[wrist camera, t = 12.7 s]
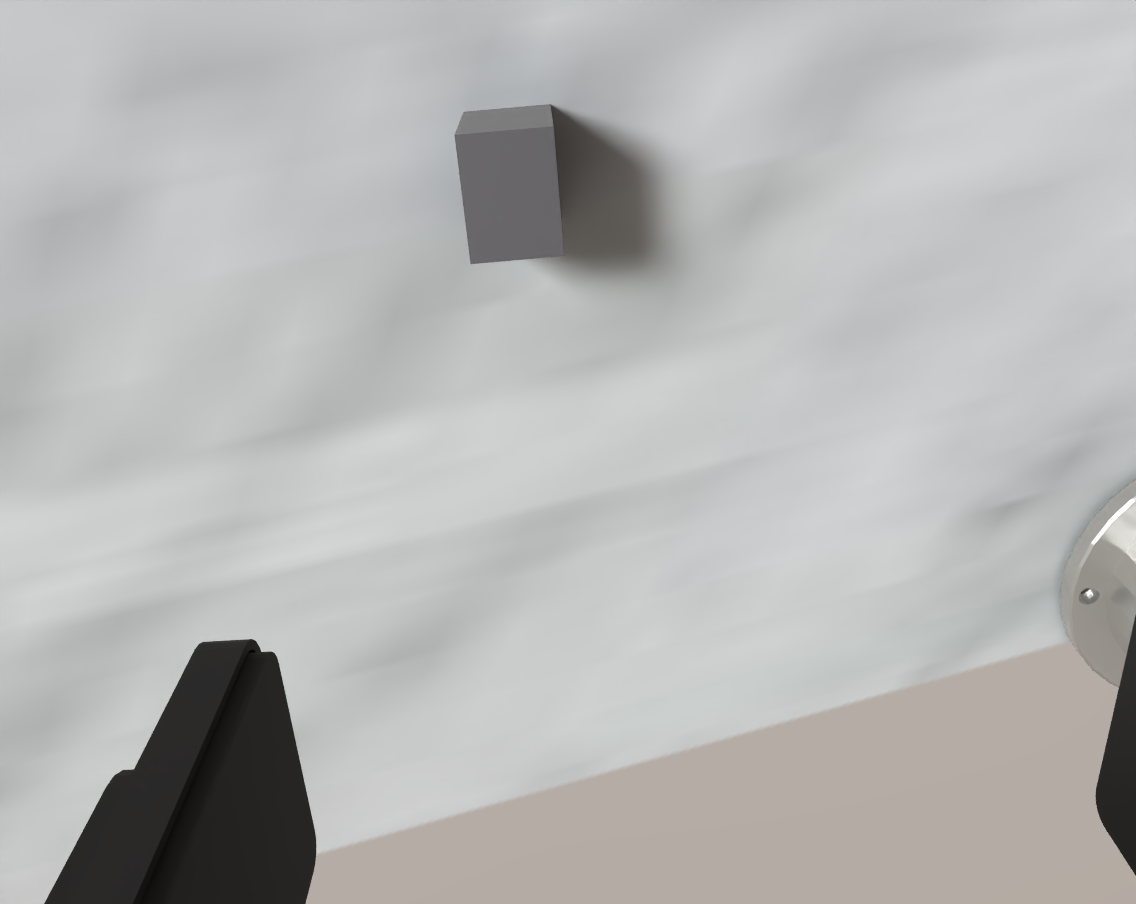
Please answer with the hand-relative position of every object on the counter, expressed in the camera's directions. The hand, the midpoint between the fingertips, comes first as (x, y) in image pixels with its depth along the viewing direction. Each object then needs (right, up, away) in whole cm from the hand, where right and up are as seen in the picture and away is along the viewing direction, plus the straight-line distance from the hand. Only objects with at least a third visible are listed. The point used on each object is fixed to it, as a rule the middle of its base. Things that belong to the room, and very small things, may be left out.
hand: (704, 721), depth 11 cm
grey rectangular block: (-3, +13, +25) cm, 28 cm away
